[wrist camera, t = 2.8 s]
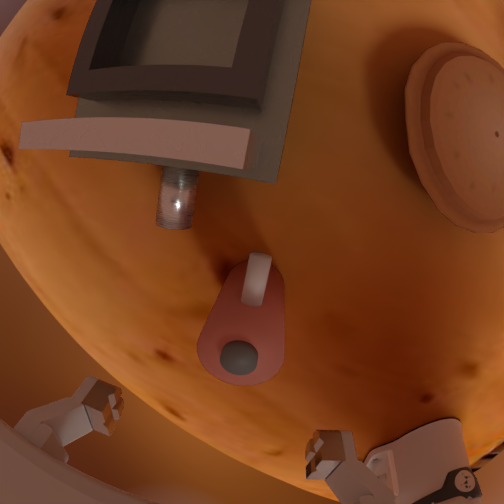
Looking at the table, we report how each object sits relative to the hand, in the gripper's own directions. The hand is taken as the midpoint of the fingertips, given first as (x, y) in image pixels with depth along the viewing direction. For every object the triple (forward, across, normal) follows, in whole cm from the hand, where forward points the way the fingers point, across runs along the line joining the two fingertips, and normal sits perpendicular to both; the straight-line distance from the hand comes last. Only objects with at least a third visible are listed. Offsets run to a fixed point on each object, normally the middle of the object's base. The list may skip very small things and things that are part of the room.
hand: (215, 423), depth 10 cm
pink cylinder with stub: (+14, -1, -1) cm, 14 cm away
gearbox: (+14, +5, -15) cm, 21 cm away
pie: (+14, -16, -17) cm, 27 cm away
